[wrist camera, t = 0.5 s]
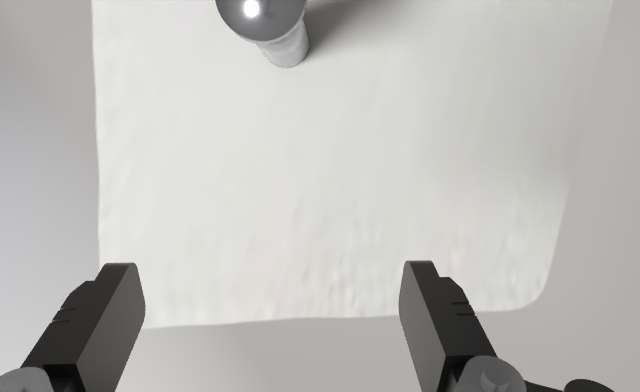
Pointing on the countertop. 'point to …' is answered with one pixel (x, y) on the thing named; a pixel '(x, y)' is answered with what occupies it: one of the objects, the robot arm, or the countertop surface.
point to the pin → (269, 27)
